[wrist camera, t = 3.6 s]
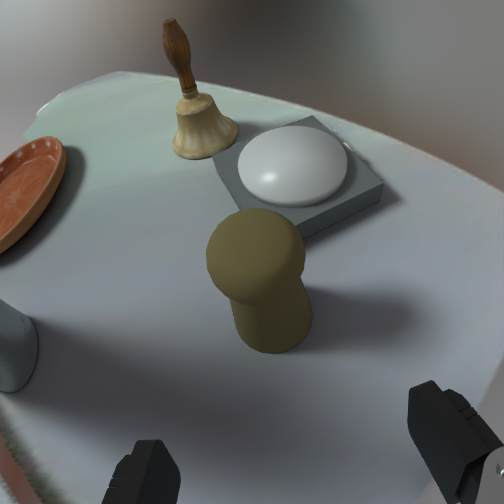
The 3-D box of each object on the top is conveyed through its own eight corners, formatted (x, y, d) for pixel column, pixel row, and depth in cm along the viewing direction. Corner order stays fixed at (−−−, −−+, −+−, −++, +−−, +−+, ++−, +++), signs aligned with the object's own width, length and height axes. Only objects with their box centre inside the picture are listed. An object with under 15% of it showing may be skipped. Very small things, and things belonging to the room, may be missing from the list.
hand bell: (187, 118, 41) (150, 15, 28) (245, 117, 39) (219, 2, 26) (162, 160, 37) (110, 46, 24) (227, 161, 35) (187, 29, 22)
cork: (328, 321, 24) (340, 243, 15) (264, 369, 23) (231, 321, 14) (281, 267, 27) (264, 173, 18) (220, 309, 26) (170, 232, 17)
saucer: (-22, 201, 44) (-33, 189, 41) (68, 131, 48) (58, 116, 45) (-31, 295, 32) (-48, 284, 29) (81, 208, 36) (66, 189, 33)
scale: (267, 256, 28) (262, 233, 25) (217, 172, 34) (209, 148, 31) (382, 199, 29) (388, 173, 26) (316, 131, 35) (315, 107, 32)
